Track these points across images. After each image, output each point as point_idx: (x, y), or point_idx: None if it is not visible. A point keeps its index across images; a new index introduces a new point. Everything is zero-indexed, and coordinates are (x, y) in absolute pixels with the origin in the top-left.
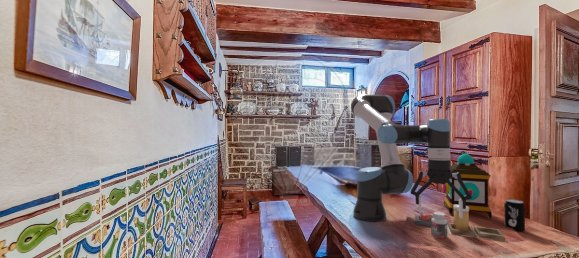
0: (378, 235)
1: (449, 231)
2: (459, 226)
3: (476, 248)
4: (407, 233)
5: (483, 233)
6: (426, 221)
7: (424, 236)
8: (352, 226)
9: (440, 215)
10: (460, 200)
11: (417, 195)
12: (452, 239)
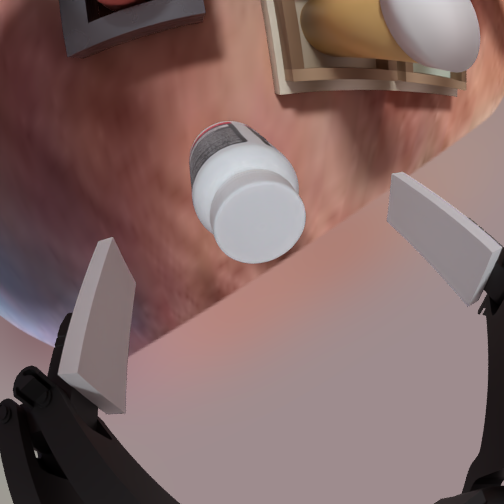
0: (29, 283)
1: (277, 52)
2: (345, 54)
3: (362, 175)
4: (80, 184)
5: (420, 79)
6: (135, 24)
7: (156, 165)
8: None
9: (271, 258)
10: (468, 305)
11: (94, 427)
12: (286, 120)
